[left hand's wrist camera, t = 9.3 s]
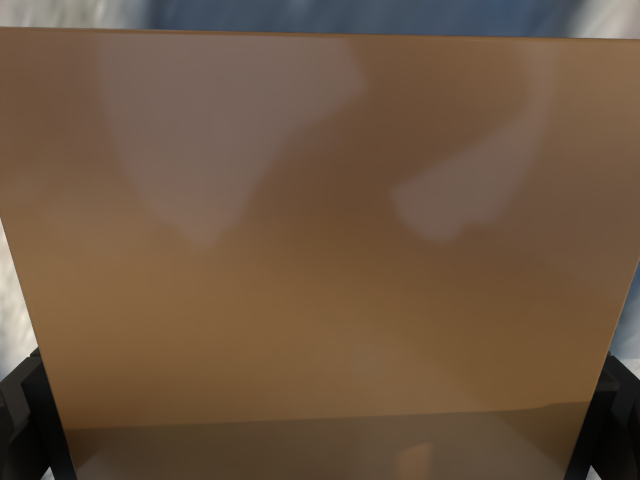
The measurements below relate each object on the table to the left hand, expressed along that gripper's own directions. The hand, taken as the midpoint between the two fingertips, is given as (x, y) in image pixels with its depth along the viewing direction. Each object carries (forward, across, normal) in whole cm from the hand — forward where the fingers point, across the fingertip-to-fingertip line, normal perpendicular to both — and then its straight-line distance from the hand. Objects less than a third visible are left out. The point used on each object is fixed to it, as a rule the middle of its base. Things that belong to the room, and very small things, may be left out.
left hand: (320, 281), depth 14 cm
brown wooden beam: (0, 0, -23) cm, 23 cm away
